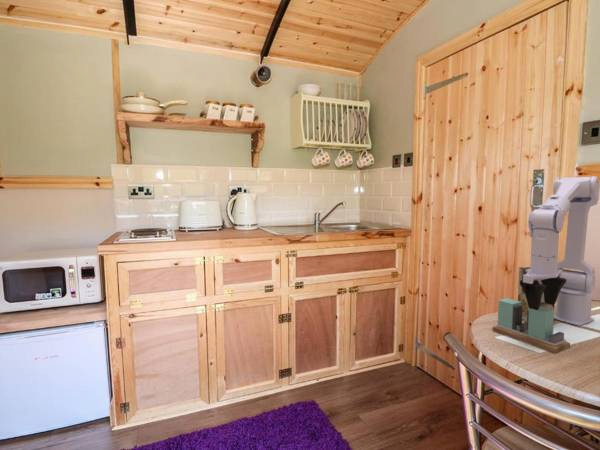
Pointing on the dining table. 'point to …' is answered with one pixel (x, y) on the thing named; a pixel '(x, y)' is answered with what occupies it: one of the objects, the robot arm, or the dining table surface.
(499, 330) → the rail
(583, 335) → the dining table surface
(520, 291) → the coffee box
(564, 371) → the dining table surface
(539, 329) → the teal rectangular block
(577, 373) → the dining table surface
